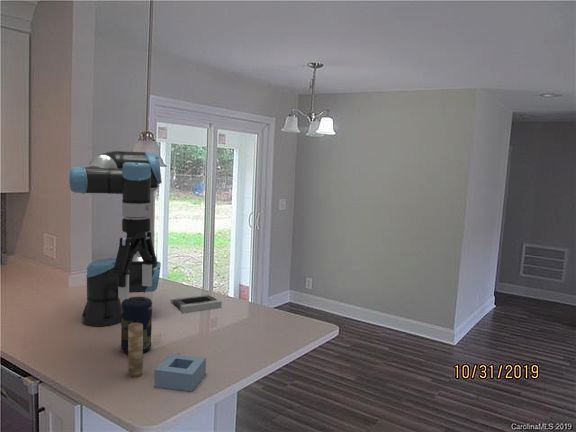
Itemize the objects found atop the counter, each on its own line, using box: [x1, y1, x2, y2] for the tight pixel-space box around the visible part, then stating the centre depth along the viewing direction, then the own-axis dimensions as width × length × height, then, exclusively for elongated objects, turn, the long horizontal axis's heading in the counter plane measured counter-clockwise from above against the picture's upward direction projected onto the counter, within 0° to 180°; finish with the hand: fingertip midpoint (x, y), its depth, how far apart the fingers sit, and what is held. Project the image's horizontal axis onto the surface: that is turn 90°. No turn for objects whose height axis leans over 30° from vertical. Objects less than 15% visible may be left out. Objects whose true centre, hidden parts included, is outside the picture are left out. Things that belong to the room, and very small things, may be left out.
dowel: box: [127, 323, 144, 378], centre depth 133 cm, size 4×4×15 cm
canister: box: [120, 296, 153, 354], centre depth 149 cm, size 10×10×18 cm
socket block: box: [153, 353, 207, 393], centre depth 131 cm, size 11×11×5 cm
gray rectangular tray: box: [169, 294, 223, 314], centre depth 198 cm, size 17×5×16 cm
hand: (135, 291), depth 130 cm, fingers open, 13 cm apart
